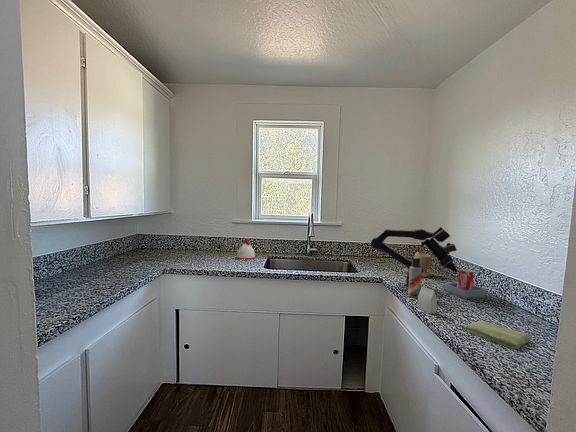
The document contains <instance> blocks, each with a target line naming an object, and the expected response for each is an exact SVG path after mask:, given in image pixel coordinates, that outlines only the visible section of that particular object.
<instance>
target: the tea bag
mask: <svg viewBox="0 0 576 432" xmlns="http://www.w3.org/2000/svg"><path fill="white" fill-rule="evenodd" d="M437 300H438V299H437V296H436V291H435V290H433V289H431V288H427V287H425V286H421V290H420V292H419V295H418V298H417V309H418V310H421V311H423V312H424V313H428V314H429V315H431V314H436V313H437Z"/></svg>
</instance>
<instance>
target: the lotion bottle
mask: <svg viewBox="0 0 576 432" xmlns="http://www.w3.org/2000/svg"><path fill="white" fill-rule="evenodd" d="M411 260H412V266H410V271H409V287H408V289H407V290H408V291H407V292H408V293H407V296H409V297H410V298H413V299H418V295H419V292H420V290H421V287H422V276H421V273H422V268H421V267H420V259H419V258H414V257H413V258H412V259H411Z"/></svg>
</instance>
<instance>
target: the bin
mask: <svg viewBox="0 0 576 432" xmlns="http://www.w3.org/2000/svg"><path fill="white" fill-rule="evenodd" d="M443 292H446V293H448V294H451V295H453V296H456V297H458V298H461V299H464V300H472V299H483V298H488V297H487V295H488V289H486V288H483V287H481V286H477V285H474V284H473V289H472V290H469V291H465V290H462V289H459V288H457V282H446V283H443Z"/></svg>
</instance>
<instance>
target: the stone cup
mask: <svg viewBox="0 0 576 432" xmlns="http://www.w3.org/2000/svg"><path fill="white" fill-rule="evenodd" d="M413 258H419V259H420V264H421V265H422V267H423V273H422V274H421V278H423V277H424V278H425V277H429V276H430V275H431V274H430V273H429V272H428V268H429V267H430V264H431V262H432V255H430V254H428V253H427V254H426V253H424V252H419V251H417V252H415V254H414V257H413ZM408 270H409V269H408V268H407V267H406V268H405V267H404V268H403V271H405V272H406V273H408Z"/></svg>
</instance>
